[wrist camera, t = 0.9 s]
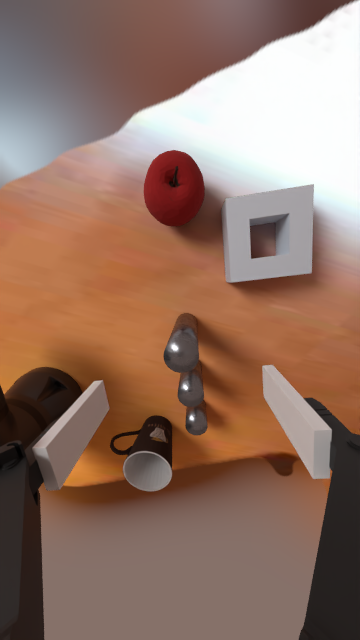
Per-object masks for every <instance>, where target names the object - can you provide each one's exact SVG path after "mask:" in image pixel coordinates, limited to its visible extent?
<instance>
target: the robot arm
mask: <svg viewBox="0 0 360 640" xmlns="http://www.w3.org/2000/svg"><path fill="white" fill-rule="evenodd" d="M262 367H263V391H264V398H265V400H266V401H267V403H268V405H269V406H270V408H271V410H272V411H273V413H274V415H275V416H276V418H277V420H278V421H279V423H280V425H281V426H282V428H283V430H284V431H285V433H286V435H287V436H288V438H289V440H290V441H291V443H292V445H293V446H294V448H295V449H296V451H297V453H298V454H299V456H300V458H301V459H302V461H303V463H304V464H305V466H306V468H307V469H308V471H309V473H310V474H311V476H312V477H313V479H323V478H330V468H331V470H332V477H331V482H330V488H329V493H328V498H327V504H326V509H325V515H324V520H323V526H322V531H321V537H320V542H319V547H318V553H317V558H316V563H315V569H314V574H313V580H312V586H311V591H310V596H309V602H308V607H307V612H306V618H305V622H304V626H303V629H302V630H301V633H300V636H299V640H360V435H357V434H353V433H351V432H350V431H349V430H348V429H347V428H346V427H345V426H344V425H343V424H342V423H341V422H340V421H339V420H338V419H337V418H336V417H335V416H334V415H332V413H331V412H330V411H329V410H327V408H326V407H325V406H324V405H322V404H321V403H320V402H319V401H317V400H315V399H313V398H302V396H301V395H300V394H299V393H298V392H297V391H296V390H295V389H294V388H293V387H292V386H291V384H290V383H289V382H288V381H287V380H286V379H285V378H284V377H283V376H282V375H281V374H280V372H279V371H278V370H277V369H276V368H275V367H274V366H273V365H265V366H262ZM109 409H110V408H109V404H108V400H107V395H106V391H105V387H104V382H103V380H100V381H94V382H93V383H92V384H91V385H90V386H89V387H88V388H87V389H86V391H85V392H84V393H83V394H82V391H81V389H80V387H79V386H78V384H77V383H76V382H75V381H74V380H73V379H72V378H71V377H70V376H69V375H67V374H66V373H64V372H62V371H60V370H58V369H54V368H49V367H41V368H36V369H33V370H31V371H29V372H28V373H26V374H24V375H23V376H21V377H20V378H19V379H18V380H17V381H16V382H15V383H14V384H13V385H12V387H11V388H10V389H9V390H8V391H7V392H6V393H5V394H3V391H2V388H1V386H0V640H44V615H43V583H42V582H43V581H42V548H41V515H40V493H39V491H38V489H39V487H40V486H41V484H42V483H43V482H44V484H45V488H46V490H60V488H61V487H62V485H63V484H64V482H65V480H66V479H67V477H68V476H69V474H70V472H71V471H72V469H73V467H74V466H75V464H76V463H77V461H78V459H79V458H80V456H81V454H82V453H83V451H84V450H85V448H86V446H87V445H88V443H89V441H90V440H91V438H92V437H93V435H94V433H95V432H96V430H97V428H98V427H99V425H100V424H101V422H102V420H103V419H104V417H105V416H106V414H107V412H108V411H109Z"/></svg>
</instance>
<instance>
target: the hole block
mask: <svg viewBox="0 0 360 640" xmlns="http://www.w3.org/2000/svg"><path fill="white" fill-rule="evenodd" d="M313 193H314V184H313V185H306V186H300V187H294V188H288V189H281V190H275V191H269V192H262V193H256V194H250V195H244V196H237V197H231V198H226V199H225V201H224V204H223V206H222V209H221V217H222V231H223V246H224V260H225V275H226V282H230V283H232V282H241V281H249V280H258V279H266V278H275V277H283V276H291V275H300V274H308V273H312V238H313ZM268 223H275V230H276V256H269V257H261V258H253V259H251V246H250V226H254V225H261V224H268Z"/></svg>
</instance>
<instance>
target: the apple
mask: <svg viewBox="0 0 360 640" xmlns="http://www.w3.org/2000/svg"><path fill="white" fill-rule="evenodd" d="M204 190H205V188H204V181H203V176H202V173H201V171H200V169H199V167H198V166H197V164H196V162H195V161H194V160H193V159H192V157H191V156H189V155H188V154H186V153H184V152H180V151H176V150H172V151H166V152H164V153H162V154H160V155H159V156H157V157H156V158H155V159H154V160H153V161H152V163H151V165H150V167H149V169H148V172H147V175H146V179H145V183H144V198H145V203H146V206H147V208H148V210H149V212H150V213H151V214H152V215H153V216H154V217H155V218H156V219H157V220H158V221H159V222H161V223H162V224H164V225H167V226H180V225H183V224H185V223H187V222H189V221H190V220H191V219H192V218H193V217H195V216H196V214H197V213H198V211H199V209H200V207H201V205H202V203H203V200H204Z"/></svg>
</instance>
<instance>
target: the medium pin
mask: <svg viewBox="0 0 360 640" xmlns="http://www.w3.org/2000/svg"><path fill="white" fill-rule="evenodd" d="M203 398H204V391H203V378H202V366H201V362H200V361H199V360H198V363H197V365H196V366H195V367H194V368H193V369H192V370H190V371H188V372H184V373H181V374H180V381H179V388H178V399H179V401H180V402H181V403H182V404H183V405H185V406H188V407H195V406H197V405H199V404H200V403H201V402H202V401H203Z"/></svg>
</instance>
